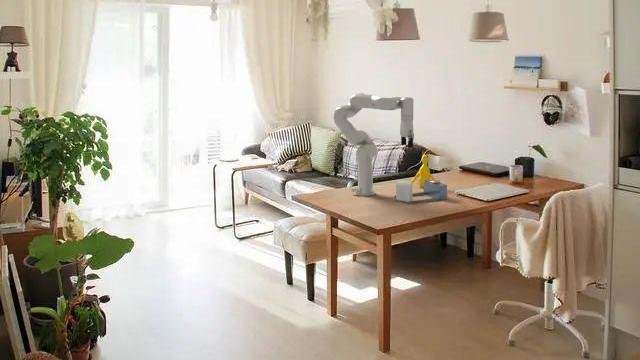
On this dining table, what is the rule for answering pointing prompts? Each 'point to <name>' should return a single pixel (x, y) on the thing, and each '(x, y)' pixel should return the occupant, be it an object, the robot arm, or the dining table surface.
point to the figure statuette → (423, 172)
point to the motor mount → (431, 192)
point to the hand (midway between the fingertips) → (407, 146)
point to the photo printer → (404, 191)
